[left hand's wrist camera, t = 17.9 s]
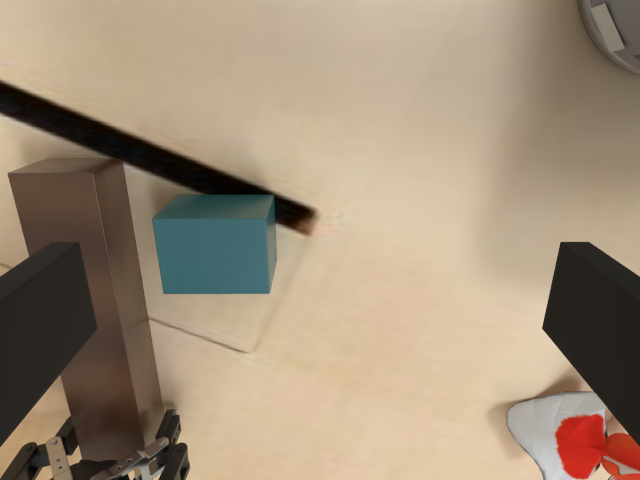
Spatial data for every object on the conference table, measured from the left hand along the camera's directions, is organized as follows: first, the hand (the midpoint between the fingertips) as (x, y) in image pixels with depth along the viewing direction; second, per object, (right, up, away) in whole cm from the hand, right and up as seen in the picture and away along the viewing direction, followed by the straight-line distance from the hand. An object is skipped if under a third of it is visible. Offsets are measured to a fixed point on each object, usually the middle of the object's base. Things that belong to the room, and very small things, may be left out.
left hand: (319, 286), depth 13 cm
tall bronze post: (-19, -5, +29) cm, 35 cm away
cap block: (-8, +2, +26) cm, 27 cm away
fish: (+25, -17, +33) cm, 45 cm away
